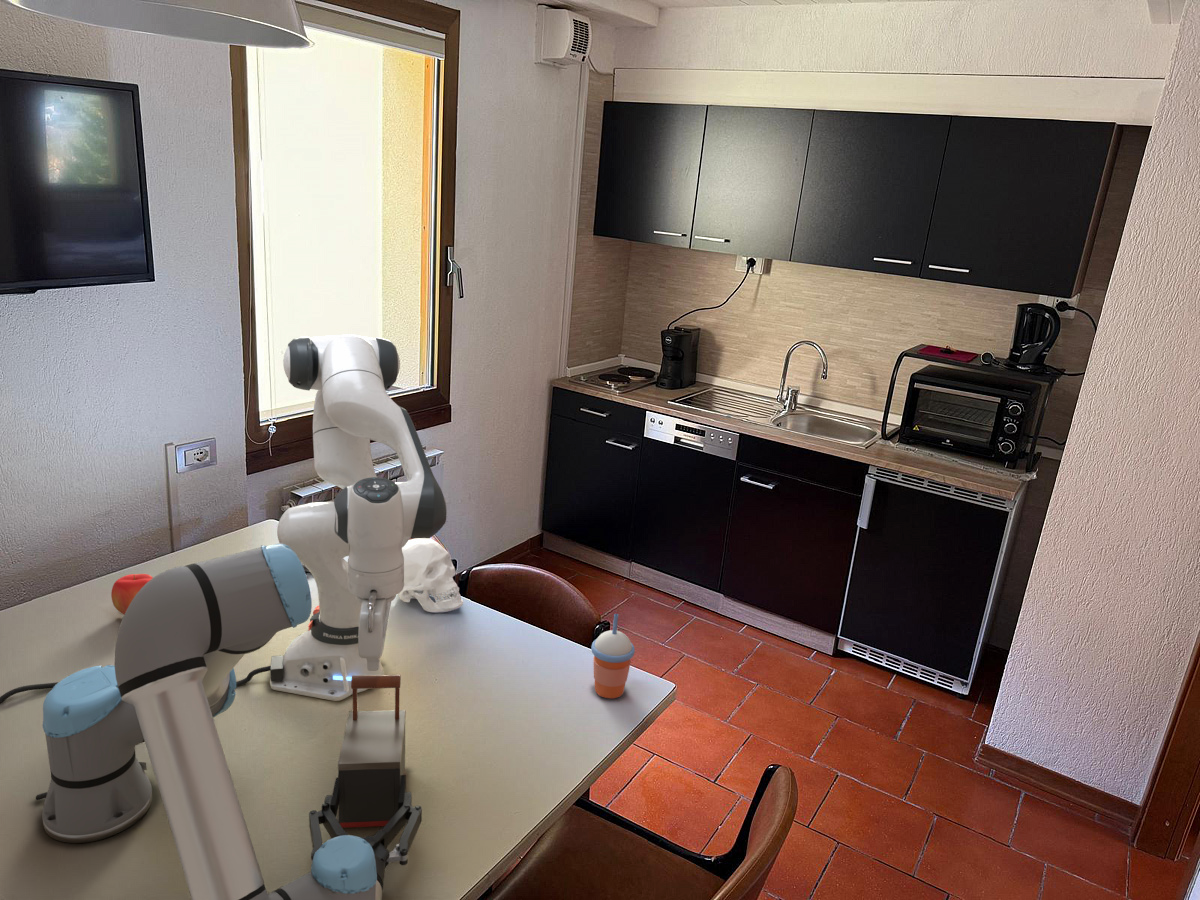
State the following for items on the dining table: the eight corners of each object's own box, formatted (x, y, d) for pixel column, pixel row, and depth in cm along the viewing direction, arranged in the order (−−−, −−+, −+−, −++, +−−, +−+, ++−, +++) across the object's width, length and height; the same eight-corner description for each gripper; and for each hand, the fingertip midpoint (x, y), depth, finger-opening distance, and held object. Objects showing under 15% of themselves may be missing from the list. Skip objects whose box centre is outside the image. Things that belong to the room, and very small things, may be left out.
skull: (448, 622, 203) (451, 561, 199) (372, 599, 211) (374, 540, 207) (477, 602, 215) (480, 543, 211) (405, 581, 223) (406, 524, 219)
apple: (164, 620, 195) (160, 580, 192) (116, 629, 189) (112, 588, 186) (157, 602, 202) (154, 563, 199) (111, 610, 197) (107, 571, 194)
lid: (349, 717, 148) (348, 668, 145) (405, 716, 150) (406, 668, 147) (337, 770, 135) (337, 718, 132) (400, 768, 137) (400, 716, 134)
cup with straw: (626, 706, 176) (634, 628, 171) (583, 698, 178) (590, 621, 173) (633, 683, 185) (641, 608, 180) (592, 675, 186) (599, 601, 181)
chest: (349, 773, 151) (348, 720, 147) (404, 771, 152) (405, 718, 149) (338, 827, 138) (337, 770, 135) (399, 825, 140) (400, 768, 137)
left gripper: (272, 917, 118) (300, 804, 139) (435, 907, 122) (439, 799, 143) (270, 873, 116) (299, 766, 137) (436, 864, 120) (440, 761, 141)
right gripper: (391, 608, 129) (390, 687, 133) (400, 552, 149) (399, 623, 153) (347, 608, 128) (348, 688, 132) (362, 552, 147) (363, 624, 151)
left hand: (371, 783), depth 140 cm, fingers closed on chest, 10 cm apart
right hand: (376, 653), depth 143 cm, fingers open, 8 cm apart
